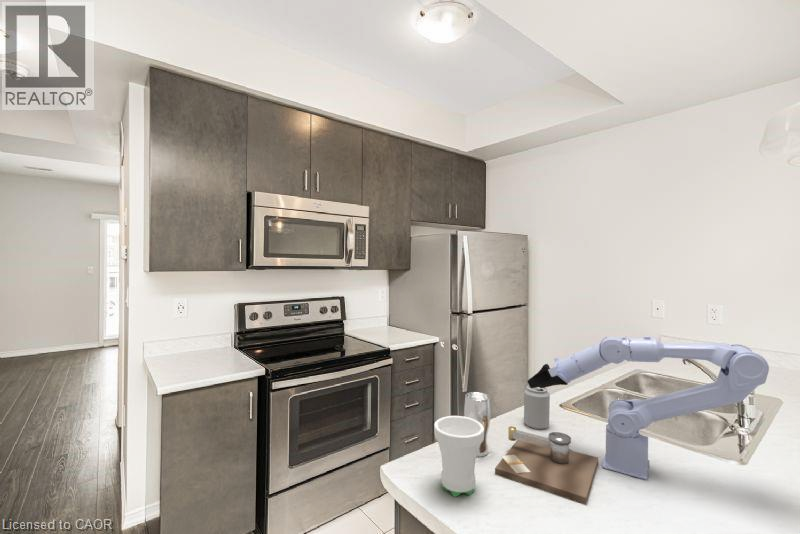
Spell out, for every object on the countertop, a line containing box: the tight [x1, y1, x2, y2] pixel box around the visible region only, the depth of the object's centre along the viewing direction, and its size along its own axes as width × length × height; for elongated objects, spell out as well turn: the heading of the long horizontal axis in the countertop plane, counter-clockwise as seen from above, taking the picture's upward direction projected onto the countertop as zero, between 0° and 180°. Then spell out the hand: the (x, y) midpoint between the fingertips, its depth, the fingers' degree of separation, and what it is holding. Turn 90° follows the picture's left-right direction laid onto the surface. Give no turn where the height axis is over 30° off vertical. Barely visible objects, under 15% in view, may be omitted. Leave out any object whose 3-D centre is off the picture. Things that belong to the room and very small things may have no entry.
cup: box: [433, 415, 484, 497], centre depth 86 cm, size 11×11×14 cm
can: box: [523, 385, 551, 430], centre depth 119 cm, size 8×8×12 cm
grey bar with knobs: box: [507, 425, 572, 463], centre depth 99 cm, size 16×5×6 cm, turn 56°
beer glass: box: [463, 391, 492, 458], centre depth 103 cm, size 7×7×15 cm
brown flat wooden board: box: [494, 440, 599, 506], centre depth 95 cm, size 21×20×2 cm
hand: (534, 384), depth 106 cm, fingers open, 7 cm apart
